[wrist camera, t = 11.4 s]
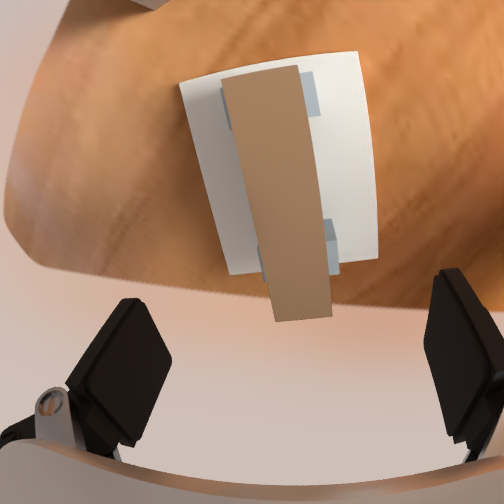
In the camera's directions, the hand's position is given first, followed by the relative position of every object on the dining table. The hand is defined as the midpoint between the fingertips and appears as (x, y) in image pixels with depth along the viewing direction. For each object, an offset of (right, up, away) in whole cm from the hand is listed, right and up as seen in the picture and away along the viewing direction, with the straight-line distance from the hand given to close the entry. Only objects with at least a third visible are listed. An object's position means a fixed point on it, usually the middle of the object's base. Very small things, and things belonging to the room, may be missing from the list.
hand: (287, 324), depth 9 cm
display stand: (+2, +9, +16) cm, 19 cm away
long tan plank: (+1, +6, +12) cm, 13 cm away
